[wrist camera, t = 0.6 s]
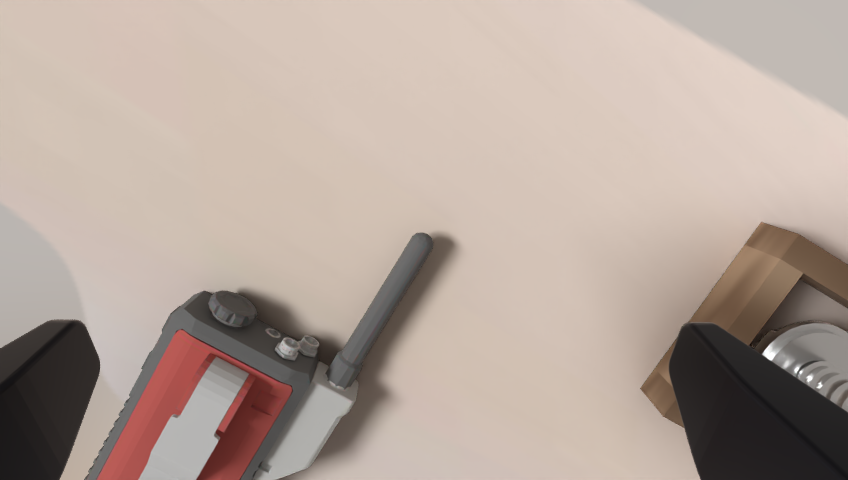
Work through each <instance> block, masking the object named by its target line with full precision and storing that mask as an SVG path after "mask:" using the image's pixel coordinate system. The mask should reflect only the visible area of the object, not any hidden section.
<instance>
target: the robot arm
mask: <svg viewBox="0 0 848 480" xmlns="http://www.w3.org/2000/svg"><path fill="white" fill-rule="evenodd" d="M99 372H100V360H99V357H98V354H97V352H96V349H95V347H94V345H93V342H92V340H91V338H90V335H89V333H88V331H87V328H86V326H85V325H84V324H83V323H82V322H81V321H79V320H50V321H47V322H45V323H44V324H42V325H40V326H38V327H37V328H35V329H33V330H31V331H30V332H28V333H26V334H24V335H23V336H21V337H19V338H17V339H16V340H14V341H12V342H11V343H9V344H7V345H5V346H4V347H2V348H0V480H59V479H60V477H61V475H62V473H63V471H64V468H65V466H66V463H67V461H68V458H69V456H70V453H71V451H72V448H73V445H74V442H75V439H76V437H77V434H78V431H79V428H80V426H81V423H82V420H83V418H84V415H85V412H86V409H87V407H88V404H89V401H90V398H91V395H92V393H93V390H94V387H95V385H96V382H97V379H98V376H99ZM669 376H670V380H671V383H672V387H673V390H674V394H675V397H676V401H677V404H678V408H679V411H680V414H681V418H682V421H683V425H684V428H685V432H686V435H687V439H688V442H689V446H690V449H691V453H692V456H693V459H694V462H695V465H696V468H697V471H698V474H699V476H700V479H701V480H848V412H847V411H846V410H844V409H843V408H841V407H840V406H838V405H837V404H835V403H834V402H832V401H831V400H829V399H828V398H826V397H825V396H823V395H822V394H820V393H819V392H817V391H816V390H814V389H813V388H811V387H810V386H808V385H807V384H805V383H804V382H802V381H801V380H799V379H798V378H796V377H795V376H793V375H792V374H790V373H789V372H787V371H786V370H784V369H783V368H781V367H780V366H778V365H777V364H775V363H774V362H772V361H771V360H769V359H768V358H766V357H765V356H763V355H762V354H760V353H759V352H757V351H756V350H754V349H753V348H751V347H750V346H748V345H747V344H745V343H744V342H742V341H741V340H739V339H738V338H736V337H735V336H733V335H732V334H730V333H729V332H727V331H726V330H724V329H723V328H721V327H720V326H718V325H717V324H715V323H711V322H688V323H685V324H684V325H683V326H682V328H681V330H680V332H679V335H678V338H677V340H676V343H675V346H674V349H673V351H672V354H671V357H670V360H669Z"/></svg>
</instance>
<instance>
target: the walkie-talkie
mask: <svg viewBox="0 0 848 480" xmlns="http://www.w3.org/2000/svg"><path fill="white" fill-rule="evenodd" d="M432 249H433V241H432V238H431V237H430V236H429V235H428V234H425V233H416V234H415V235H414V236H412V238H411V240H410V241H409V243H408V244H407V246H406V248H405V249H404V251H403V253H402V254H401V256H400V258H399V259H398V261H397V262H396V264H395V266H394V267H393V269H392V271H391V272H390V274H389V275H388V277H387V279H386V280H385V282H384V284H383V285H382V287H381V288H380V290H379V292H378V293H377V295H376V297H375V298H374V300H373V301H372V303H371V305H370V306H369V308H368V310H367V311H366V313H365V315H364V316H363V318H362V319H361V321H360V323H359V324H358V326H357V328H356V329H355V331H354V332H353V334H352V336H351V337H350V339H349V341H348V342H347V344H346V345H345V347H344V349H343V350H342V351H339V352H338V353H337V355H336V356H335V358H334V360H333V361H332V363H331V365H330V366H328V365H326V364H324V363H322V362H320V361H319V360H318V353H317V348H318V346H319V342H318V341H317V340H316V339H315V338H313V337H312V336H308V335H305V336H304V337H303V338H302V340H301V341H300V340H299V341H297V340H295V339H294V338H292V337H290V336H288V335H286V334H284V333H282V332H280V331H279V330H277V329H275V328H273V327H271V326H269V325H267V324H266V323H264V322H262V321H260V320H258V319H256V316H257V311H256V308H255V306H254V305H253V304H252V303H251V302H250V301H249V300H248V299H247V298H245V297H243V296H241V295H239V294H237V293H233V292H229V291H218V292H216V293H214V294H213V295H211V294H209V293H208V292H206V291H202V292H200V293H197V294H195V295H193V296H192V297H191V298H190V299H189V300H187V301H186V302H185V303H184V304H183V305H182V306H179V307H178V308H177V309H175V310H174V311H173V312H172V313H171V314H170V316H169V317H168V319H167V321H166V323H165V325H164V327H163V329H162V334H161V336H160V338H159V340H158V342H157V343H156V345H155V347H154V349H153V350H152V351H151V352H150V353H149V355H148V357H147V359H146V361H145V363H144V364H143V366H142V368H141V369H143V370H142V372H141V374H140V375H139V377H138V379H137V381H136V383H135V385H134V387H133V389H132V390H131V392H130V394H129V396H130V398H129V399H128V400H127V401H126V402H125V404H124V406H125V407H124V409H123V410H122V411H121V412H120V413H119V416H120V417H119V418H118V419H117V420H116V421H115V423H114V427H113V428H112V430H111V431H110V432H109V437H108V438H107V439H106V440H105V441H104V443H103V444H104V446H103V447H102V449H101V450H100V451H99V456H98V457H97V458H96V459H95V460H94V462H93V463H94V465H93V466H92V467H91V468H90V469H89V474H88V475H87V476H86V478H85V479H84V480H252V479H254V480H277V479H280V478H282V477H285V476H288V475H290V474H293V473H296V472H298V471H301V470H304V469H306V468H308V467H309V466H311V465H312V463H313V462H314V460H315V459H316V457H317V455H318V454H319V452H320V451H321V449H322V448H323V446H324V445H325V443H326V441H327V440H328V438H329V437H330V435H331V434H332V432H333V430H334V429H335V427H336V426H337V424H338V423H339V421H340V419H341V418H342V416H344V415H346V414H348V413H349V411H350V410H351V408H352V406H353V405H354V403H355V401H356V397H357V392H358V387H359V383H358V382H357V381H356V380H355V379H356V377H357V375H358V374H359V372H360V370H361V369H362V366H363V365H362V362H363V360H364V358H365V357H366V355H367V354H368V352H369V350H370V349H371V347H372V346H373V344H374V342H375V341H376V339H377V338H378V336H379V334H380V333H381V331H382V329H383V328H384V326H385V325H386V323H387V321H388V320H389V318H390V317H391V315H392V313H393V312H394V310H395V309H396V307H397V305H398V304H399V302H400V301H401V299H402V297H403V296H404V294H405V292H406V291H407V289H408V288H409V286H410V284H411V283H412V281H413V280H414V278H415V276H416V275H417V273H418V272H419V270H420V268H421V267H422V265H423V264H424V262H425V260H426V259H427V257H428V255H429V254H430V252H431V251H432Z"/></svg>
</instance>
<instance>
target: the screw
mask: <svg viewBox="0 0 848 480" xmlns="http://www.w3.org/2000/svg"><path fill="white" fill-rule="evenodd" d="M754 350H756V351H757V352H759V353H760V354H762V355H763V356H765V357H766V358H768V359H769V360H771V361H772V362H774V363H775V364H777V365H778V366H780V367H781V368H783V369H784V370H786V371H787V372H789V373H790V374H792V375H793V376H795V377H796V378H798V379H799V380H801V381H802V382H804V383H805V384H807V385H808V386H810V387H811V388H813V389H814V390H816V391H817V392H819V393H820V394H822V395H823V396H825V397H826V398H828V399H829V400H831V401H832V402H834V403H835V404H837V405H838V406H840V407H841V408H843V409H844V410H846V411H847V412H848V333H847V332H846V331H844V330H842V329H840V328H839V327H837V326H835V325H833V324H830V323H826V322H823V321H803V322H797V323H794V324H792V325H789V326H786V327H784V328H782V329H781V330H779V331H773V330H770V331H769V332H768V333H767V334H766V335H765V336H764V338H763V339H762V340H761V341H760V342H759V343H758V344H757V345H756V347H755V348H754Z"/></svg>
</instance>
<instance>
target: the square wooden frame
mask: <svg viewBox="0 0 848 480" xmlns="http://www.w3.org/2000/svg"><path fill="white" fill-rule="evenodd" d="M799 279H801V280H803V281H804V282H806V283H808V284H809V285H811V286H812V287H814V288H816V289H817V290H819V291H821V292H822V293H824V294H825V295H827V296H829V297H830V298H832V299H833V300H835V301H837V302H838V303H840V304H842V305H843V306H845V307H846V308H848V265H847V264H845V263H844V262H842V261H841V260H839V259H838V258H836V257H834V256H833V255H831V254H830V253H828V252H826V251H825V250H823V249H822V248H820V247H819V246H817V245H815V244H814V243H812V242H811V241H809V240H807V239H806V238H804V237H803V236H801V235H799V234H797V233H793V232H790V231H787V230H784V229H781V228H778V227H775V226H771V225H768V224H765V223H762V222H761V223H760V225H759V226H758V227H757V229H756V230H755V232H754V233H753V234H752V236H751V237H750V238H749V240H748V241H747V243H746V244H745V245H744V247H743V248H742V249H741V251H740V252H739V254H738V255H737V256H736V258H735V259H734V260H733V262H732V263H731V265H730V266H729V267H728V269H727V270H726V271H725V273H724V274H723V276H722V277H721V278H720V280H719V281H718V282H717V284H716V285H715V287H714V288H713V289H712V291H711V292H710V293H709V295H708V296H707V298H706V299H705V300H704V302H703V303H702V304H701V306H700V307H699V309H698V310H697V311H696V313H695V314H694V315H693V317H692V318H691V320H690V321H689V322H711V323H715V324H717V325H718V326H720V327H721V328H723V329H724V330H726V331H727V332H729V333H730V334H732V335H733V336H735V337H736V338H738V339H739V340H741V341H742V342H744V343H745V344H747V345H748V346H749V344H750V343H751V342H752V340H753V339H754V338H755V336H756V335H757V334H758V332H759V331H760V330H761V328H762V327H763V326H764V325H765V323H766V322H767V321H768V319H769V318H770V317H771V315H772V314H773V313H774V311H775V310H776V309H777V307H778V306H779V305H780V303H781V302H782V301H783V300H784V298H785V297H786V296H787V294H788V293H789V292H790V290H791V289H792V288H793V286H794V285H795V284H796V282H797V281H798V280H799ZM677 338H678V337H677ZM676 340H677V339H676ZM676 340H675V342H674V343H673V344H672V346H671V347H670V348H669V350H668V351H667V353H666V354H665V355H664V357H663V358H662V359H661V361H660V362H659V364H658V365H657V366H656V368H655V369H654V370H653V372H652V373H651V375H650V376H649V377H648V379H647V380H646V381H645V383H644V384H643V386H642V387H641V388H640V389H641V390H642V391H643V392H644V394H645V395H646V396H647V397H648V398H649V400H650V401H651V402H652V403H653V404H654V406H655V407H656V408H657V409H658V411H659V412H660V413H661V414H662V415H663V417H665V418H667V419H669V420H671V421H672V422H674V423H676V424H678V425H680V426H682V427H683V428H684V425H683V421H682V418H681V414H680V411H679V408H678V404H677V401H676V397H675V394H674V390H673V387H672V383H671V380H670V376H669V360H670V357H671V354H672V351H673V349H674V346H675V343H676Z"/></svg>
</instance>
